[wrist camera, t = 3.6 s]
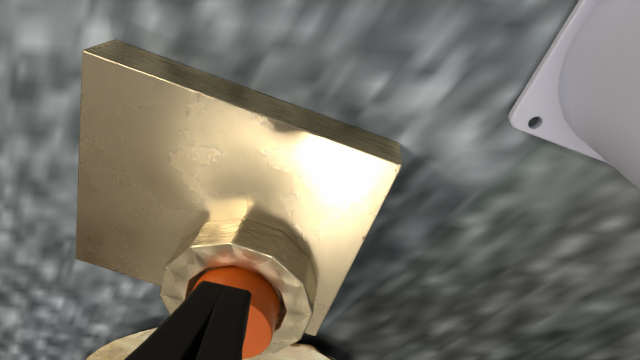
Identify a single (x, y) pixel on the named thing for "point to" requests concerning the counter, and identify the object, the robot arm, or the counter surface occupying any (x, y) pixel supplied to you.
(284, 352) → the pie
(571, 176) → the counter surface
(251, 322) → the button
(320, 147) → the oven controls
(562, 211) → the counter surface
